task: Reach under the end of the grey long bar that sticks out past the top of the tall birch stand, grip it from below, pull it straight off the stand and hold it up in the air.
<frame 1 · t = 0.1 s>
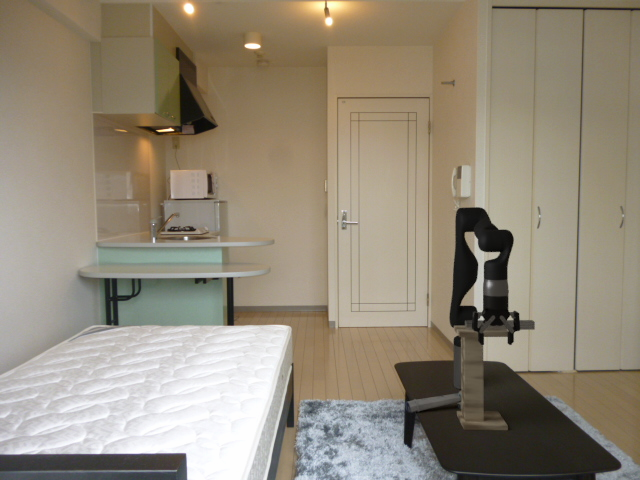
hand: (495, 344, 156), 29 cm above the table, tool pointing down, fingers open, 8 cm apart
birch stand: (481, 422, 168), on the table
grey long bar: (499, 328, 166), point 32 cm above the table, touching birch stand
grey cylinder: (440, 410, 180), on the table
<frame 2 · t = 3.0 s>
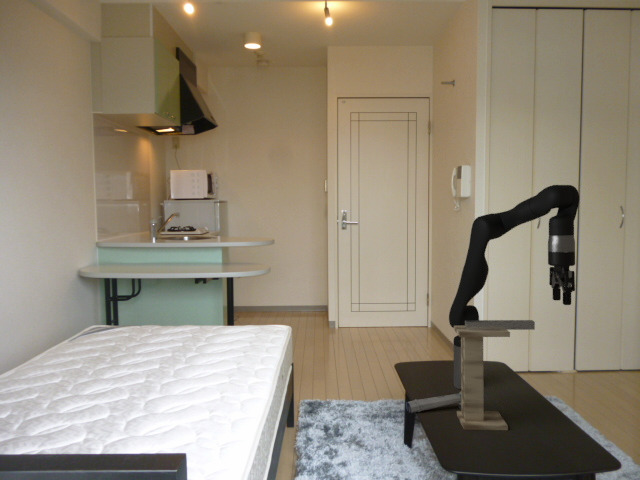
hand: (561, 302, 153), 43 cm above the table, tool pointing down, fingers open, 8 cm apart
nothing on the table moved.
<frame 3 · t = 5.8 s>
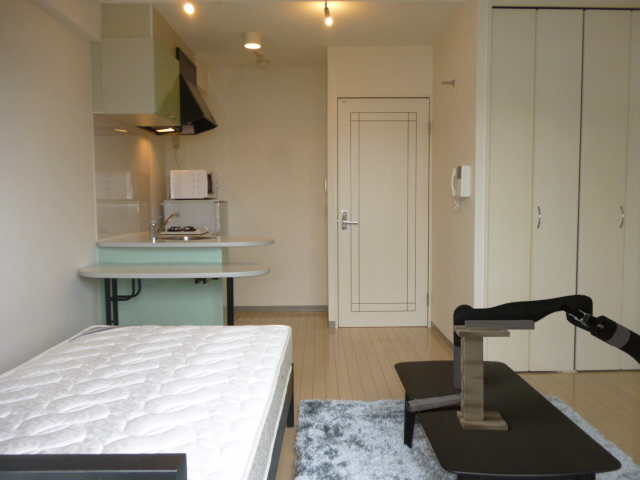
hand: (565, 307, 164), 39 cm above the table, tool pointing upward, fingers open, 8 cm apart
nothing on the table moved.
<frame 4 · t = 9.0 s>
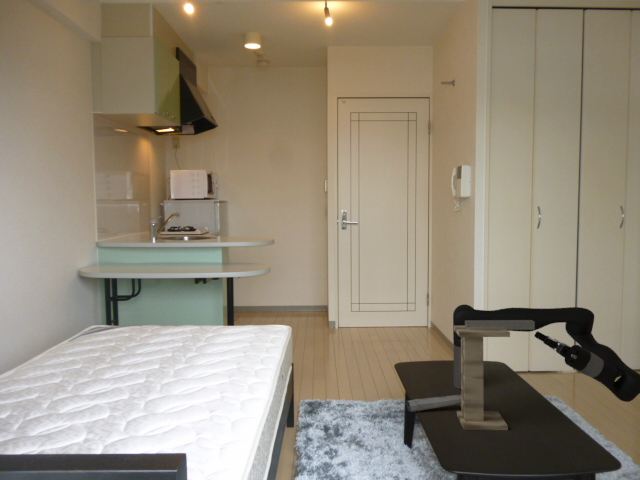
hand: (540, 336, 165), 29 cm above the table, tool pointing upward, fingers open, 8 cm apart
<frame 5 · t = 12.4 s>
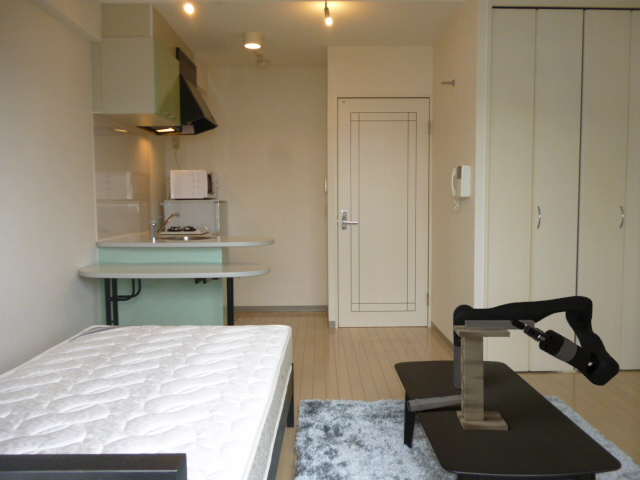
hand: (511, 320, 166), 35 cm above the table, tool pointing upward, fingers closed on grey long bar, 2 cm apart
grey long bar: (499, 328, 166), point 32 cm above the table, touching birch stand, gripper
everything else where it was.
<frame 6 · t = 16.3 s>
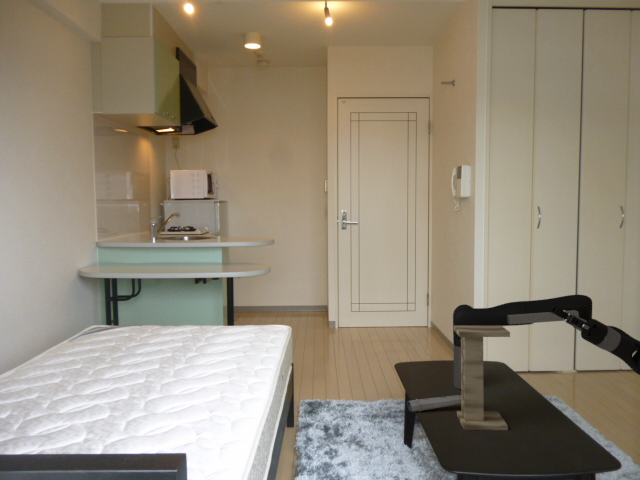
hand: (553, 309, 164), 38 cm above the table, tool pointing upward, fingers closed on grey long bar, 2 cm apart
grey long bar: (542, 321, 165), point 34 cm above the table, touching gripper
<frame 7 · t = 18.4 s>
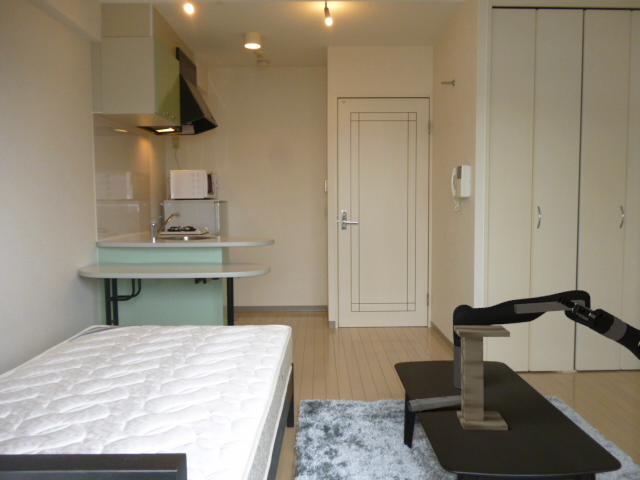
hand: (560, 299, 166), 41 cm above the table, tool pointing upward, fingers closed on grey long bar, 2 cm apart
grey long bar: (549, 310, 166), point 38 cm above the table, touching gripper
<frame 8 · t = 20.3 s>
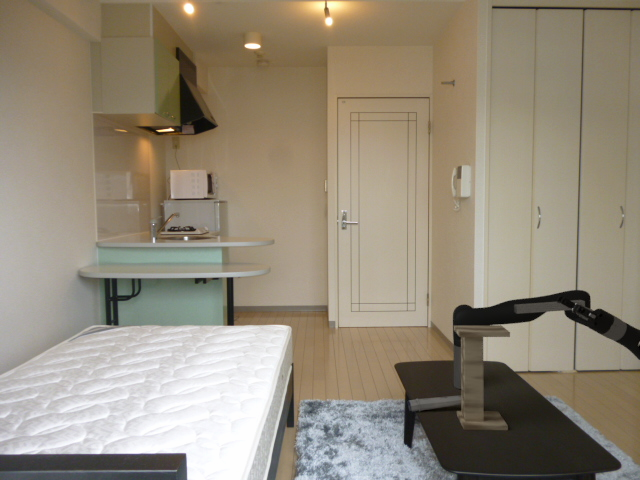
hand: (560, 299, 166), 41 cm above the table, tool pointing upward, fingers closed on grey long bar, 2 cm apart
grey long bar: (549, 310, 166), point 38 cm above the table, touching gripper
at the end: grey long bar moved 17.9 cm from its start; grey long bar point 37.6 cm above the table; grey long bar touching gripper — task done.
